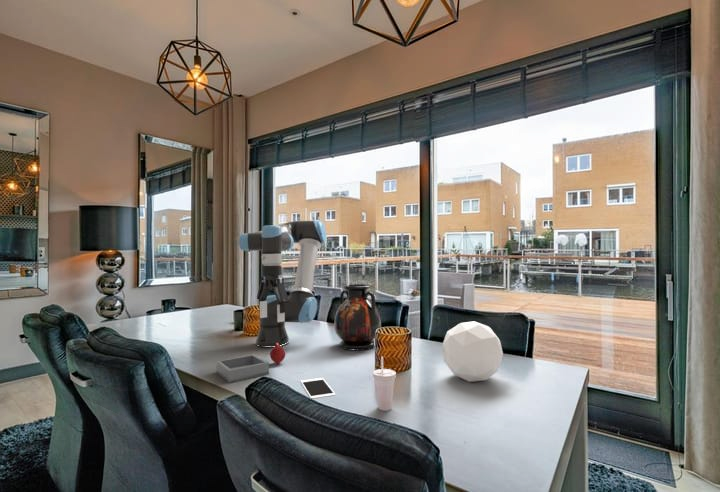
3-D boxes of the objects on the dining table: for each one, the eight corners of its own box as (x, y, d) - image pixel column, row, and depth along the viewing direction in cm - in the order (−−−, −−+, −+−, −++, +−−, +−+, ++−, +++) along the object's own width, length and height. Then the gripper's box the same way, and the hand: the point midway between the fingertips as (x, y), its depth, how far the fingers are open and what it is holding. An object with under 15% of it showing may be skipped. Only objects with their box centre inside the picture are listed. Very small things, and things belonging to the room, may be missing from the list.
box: (253, 364, 141) (253, 354, 141) (268, 373, 130) (268, 362, 130) (216, 372, 132) (216, 361, 132) (229, 382, 121) (229, 370, 121)
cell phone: (322, 379, 124) (322, 377, 124) (336, 396, 109) (336, 394, 109) (300, 382, 122) (300, 380, 122) (310, 400, 107) (310, 398, 107)
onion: (288, 362, 143) (288, 342, 143) (279, 366, 137) (279, 345, 138) (276, 361, 145) (276, 340, 145) (267, 365, 140) (266, 344, 140)
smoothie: (372, 403, 103) (371, 353, 103) (394, 402, 103) (393, 353, 104) (374, 413, 96) (374, 360, 97) (398, 412, 97) (397, 359, 97)
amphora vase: (324, 348, 164) (323, 286, 164) (352, 338, 181) (351, 282, 182) (363, 355, 151) (363, 288, 152) (389, 344, 169) (389, 284, 170)
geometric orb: (476, 405, 116) (464, 366, 107) (438, 367, 133) (424, 330, 123) (519, 371, 121) (512, 330, 111) (477, 338, 138) (467, 300, 128)
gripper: (248, 264, 149) (248, 316, 148) (279, 265, 130) (280, 324, 130) (265, 264, 154) (265, 314, 153) (297, 265, 135) (297, 322, 135)
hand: (272, 319), depth 141 cm, fingers open, 13 cm apart
